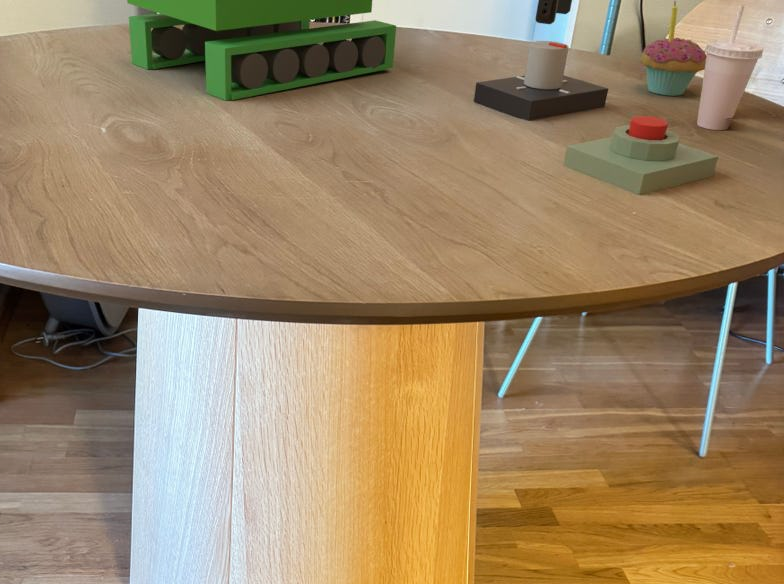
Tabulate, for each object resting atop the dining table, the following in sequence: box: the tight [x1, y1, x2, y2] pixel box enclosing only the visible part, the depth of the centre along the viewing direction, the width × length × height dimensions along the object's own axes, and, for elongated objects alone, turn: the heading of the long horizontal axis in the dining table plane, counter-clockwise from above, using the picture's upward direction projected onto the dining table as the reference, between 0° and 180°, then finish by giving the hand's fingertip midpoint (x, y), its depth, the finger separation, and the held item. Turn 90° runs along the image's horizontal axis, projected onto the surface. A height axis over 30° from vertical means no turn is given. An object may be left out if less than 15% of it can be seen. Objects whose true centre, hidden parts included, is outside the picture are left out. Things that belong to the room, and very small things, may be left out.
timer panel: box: [473, 74, 609, 122], centre depth 114 cm, size 14×10×3 cm
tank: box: [126, 0, 397, 101], centre depth 124 cm, size 24×35×16 cm
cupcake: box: [640, 0, 707, 97], centre depth 120 cm, size 9×8×12 cm
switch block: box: [563, 124, 719, 196], centre depth 92 cm, size 12×10×4 cm
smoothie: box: [696, 4, 765, 131], centre depth 106 cm, size 6×6×14 cm
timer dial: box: [524, 40, 569, 90], centre depth 112 cm, size 5×5×5 cm
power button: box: [628, 115, 669, 140], centre depth 91 cm, size 4×4×2 cm
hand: (552, 18), depth 109 cm, fingers open, 8 cm apart
